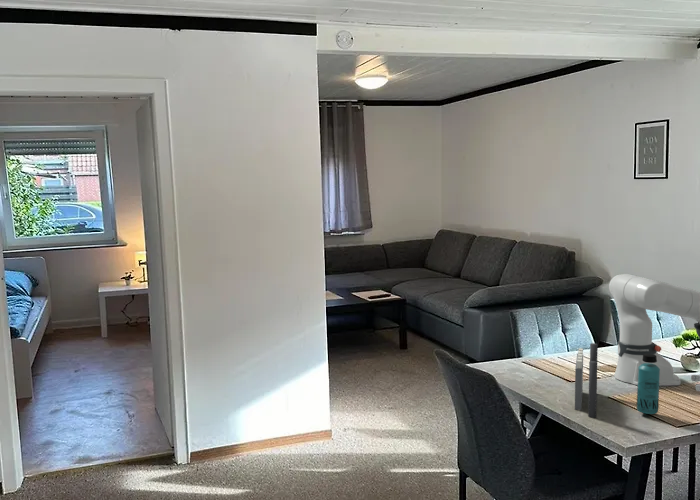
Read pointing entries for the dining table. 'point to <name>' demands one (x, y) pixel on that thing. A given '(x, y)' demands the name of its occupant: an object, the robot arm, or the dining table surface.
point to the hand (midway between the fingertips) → (693, 382)
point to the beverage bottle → (648, 385)
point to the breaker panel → (579, 380)
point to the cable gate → (593, 381)
